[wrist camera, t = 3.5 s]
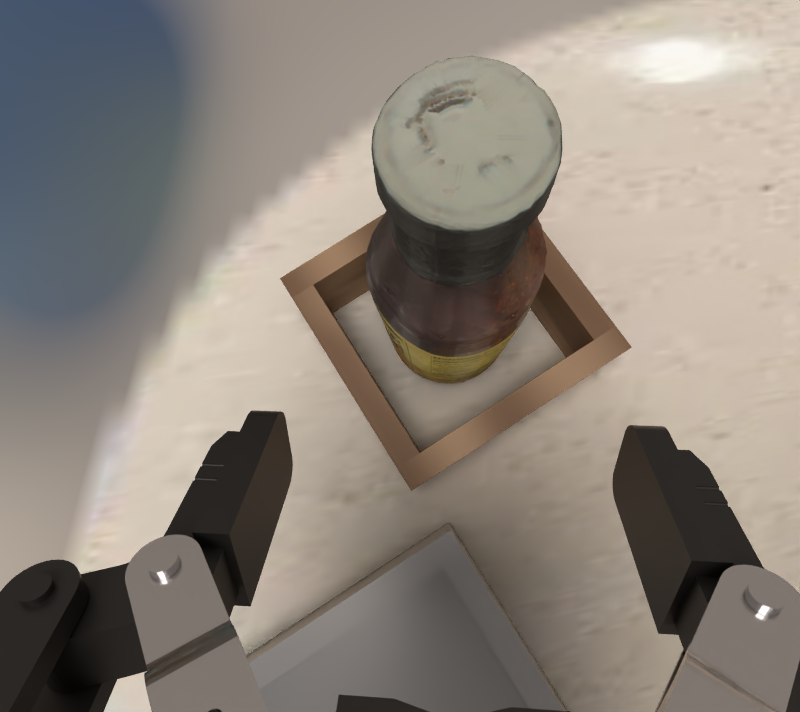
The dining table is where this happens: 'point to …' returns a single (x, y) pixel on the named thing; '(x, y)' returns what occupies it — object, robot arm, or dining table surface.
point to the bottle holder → (585, 353)
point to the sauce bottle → (460, 212)
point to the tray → (407, 642)
